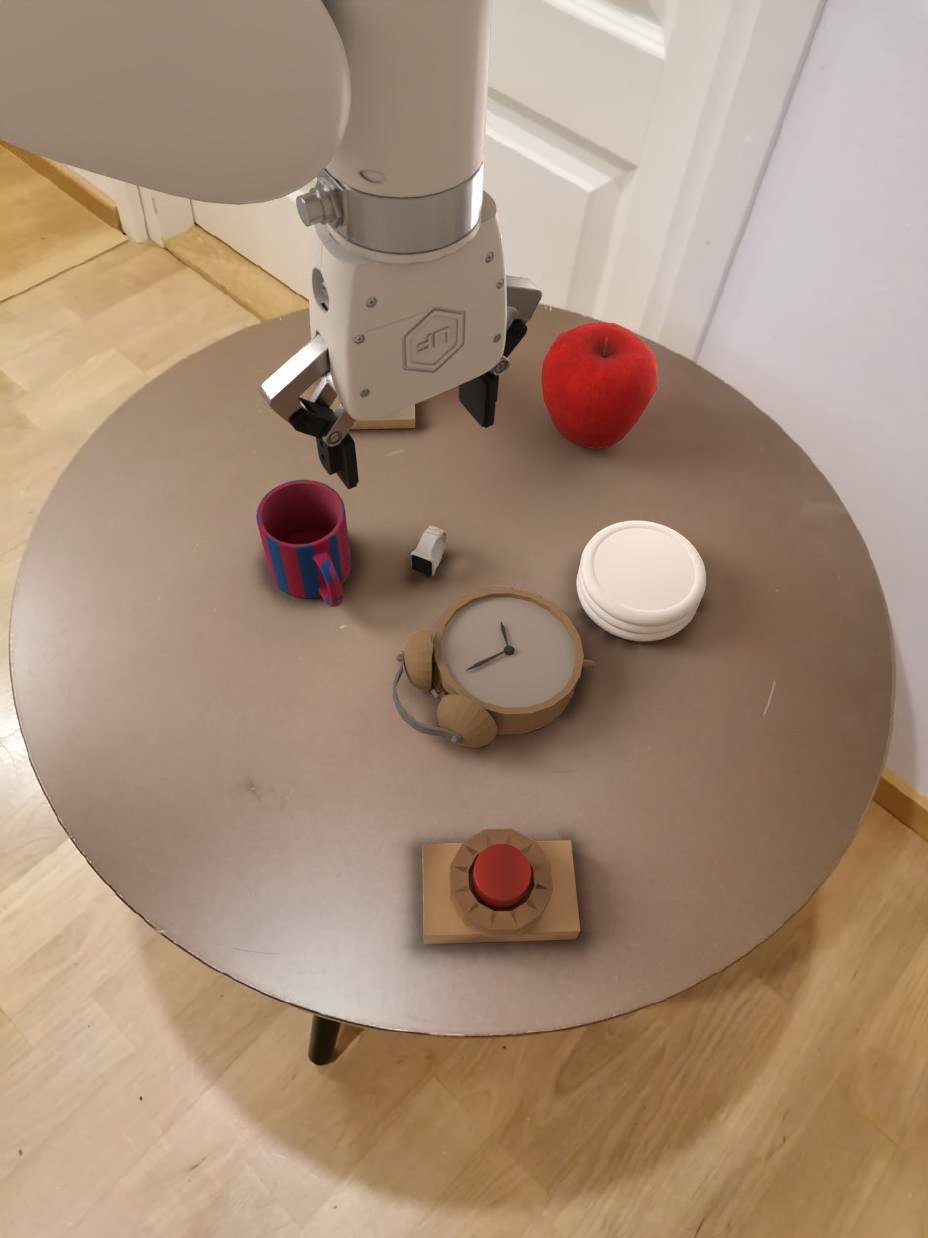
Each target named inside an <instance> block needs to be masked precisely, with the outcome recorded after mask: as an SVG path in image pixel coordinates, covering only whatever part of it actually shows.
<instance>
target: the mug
mask: <svg viewBox="0 0 928 1238" xmlns="http://www.w3.org/2000/svg"><path fill="white" fill-rule="evenodd" d="M255 517H256V524H257V528H258V532H259V536H260V540H261V544H262V548H263V553H264V557H265V559H266V563H267V567H268V571H269V576H270V578H271V580H272V581H273V583H274V585H275V586H276V587H277V588H278V589H279V590H281V591H282V592H284V593H286V594H288V595H290V596H293V597H295V598H300V599H314V598H321V597H322V599H323V601H324V602H325V603H326V604H327V606H329V607H331V608H334V607H339V606H340V605H342V604H343V601H344V592H343V586H342V585H343V584H344V582H346V580H347V579H348V577H349V574H350V573H351V568H352V556H351V555H352V554H351V547H350V540H349V530H348V523H347V515H346V508H345V503H344V501H343V498H342V497H341V495H340V494H339V493H338V492H337V491H336V490H335V489H334V488H332V487H331V486H329V485H328V484H325V483H324V482H320V481H317V480H312V479H296V480H291V481H286V482H284V483H281V484H279V485H277V486H275V487H274V488H272V489H270V490H269V491H268V492H267V493H266V494H265V495H264V496H263V498H261V501H260V502H259V504H258V507H257V510H256V516H255Z"/></svg>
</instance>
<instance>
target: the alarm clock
mask: <svg viewBox="0 0 928 1238" xmlns="http://www.w3.org/2000/svg"><path fill="white" fill-rule="evenodd" d="M430 632H431V631H430V628H429V627H422V628H418V629H417V630H415V631H414V632H412V633H411V634H410V635H409V637H408V639H407V641H406V642H405V646H404V649H403V650H401V653H397V654H396V656H395V661H397V662H399V663H401V664H400V666H399V668H398V670H397V672H396V673H395V677H394V679H393V683H392V700H393V704H394V706H395V709H396V711H397V713H398V715H399V716H400V717H401V718H402V720H403V721H404V722H405V723H406V724H407V725H408V726H410V727H411V728H412V729H413V730H415V731H417V732H418V733H421V734H424V735H428V736H433V737H440V738H443V739H444V738H445V739H448V740H450V741H451V744H452V745H457V744H458V745H460V746H462V747H466V748H481V747H484V746H487V745H488V744H490V743H491V742H492V741H494V739H495V738H496V736H497V735H521V734H523V735H524V734H528V733H530V732H532V731H536V730H538V729H542V728H544V727H547V726H548V725H549V724H551V723H552V722H553V721H554V720H555V719H557V718H558V717H559V716H561V715H562V714H563V713H564V711H565V709H566V707H567V706H568V705H569V703H570V701H571V700H572V698H573V696H574V693H575V689H576V686H577V684H578V681H579V680H580V678H581V675H582V670H583V668H595V665H596V663H595V661H593V660H591V659H588V658H587V659H586V658H584V657H585V655H584V649H583V645H582V639H581V635H580V634H579V632H578V630H577V628H576V627H575V625H574V624H573V622H572V620H571V618H570V617H569V616H568V615H567V614H565V613H564V612H563V611H562V610H561V609H560V608H559V607H558V606H557V605H556V604H555V603H554V602H551V601H550V600H548V599H546V598H544V597H543V596H542V595H541V594H536V593H535V592H531V591H526V590H522V589H518V588H514V587H489V588H485V589H481V590H478V591H475V592H471V593H468V594H466V595H465V596H463V597H462V598H461V599H459V600H458V601H456V602H454V603H453V604H451V605H450V606H449V608H448V609H447V610H446V612H445V613H444V614H443V615H442V617H441V618H440V619H439V620H438V623H437V626H436V630H435V633H434V637H433V641H432V639H431V633H430ZM432 646H433V647H432ZM404 672H405V675H406V677H407V680H408V682H409V683H410V684H411V685H412V686H413V687H415V689H418V690H421V691H424V692H430V693H431V694H432V695H433V697H434V698H435V700H438V699H440V702H439V704H438V706H437V708H436V709H437V710H436V716H437V722H438V725H439V727H438V726H433V725H429V724H425V723H423V722H421V721H419V720H417V719H416V718H415V717H414V716H412V715H411V713H409V712H408V710H406V708H405V707H404V706H403V703H402V702H401V699H400V697H399V692H398V686H399V685H398V684H399V682H400V679H401V677H402V674H403V673H404ZM432 684H433V686H434V688H433V689H431V688H432Z"/></svg>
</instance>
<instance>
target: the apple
mask: <svg viewBox="0 0 928 1238" xmlns="http://www.w3.org/2000/svg"><path fill="white" fill-rule="evenodd" d="M657 363H658V361H657V357H656V355H655V354H654V352H653V351H652V350H651V348H650V347H649V345H648V344H646V342H644V341H643V340H642V339H641V338H639V337H638V336H637V335H636V334H635V333H633V332H632V331H631V330H630V329H628V328H626V327H624V326H622V325H620V324H617V323H615V322H605V321H603V322H602V321H599V322H589V323H584V324H583V323H582V324H581V325H578V326H574V327H572V328H570V329H568V330H566V331H563V332H561V333H559V334H558V335H557V337H556V338H555V340H554V341H553V343H552V344H551V345H550V347H549V349H548V351H547V353H546V355H545V357H544V358H543V360H542V366H541V375H540V381H541V391H542V401H543V403H544V405H545V408H546V411H547V413H548V415H549V418H550V419H551V422H552V424H553V425H554V427H555V428H556V430H557V432H558V433H560V435H562V436H563V437H564V438H565V439H566V440H567V441H569V442H571V443H573V444H575V445H578V446H579V447H584V448H590V449H596V450H598V449H604V448H608V447H609V448H610V447H612V446H614V445H615V444H617V443H619V442H620V441H622V440H624V438H625V437H626V436H627V435H628V434H629V432H630V431H631V430H632V429H633V428H634V426H635V425H636V424H637V423H638V422H639V420H640V418H641V417H642V415H643V413H644V411H645V410H646V408H647V406H648V405H649V403H650V401H651V400H652V398H653V396H654V395H655V393H656V391H657V389H658V364H657Z"/></svg>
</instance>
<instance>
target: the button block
mask: <svg viewBox="0 0 928 1238" xmlns="http://www.w3.org/2000/svg"><path fill="white" fill-rule="evenodd" d="M495 844H509V845H512V846H514V847H516V848H518V849H519V850H521V851H522V852H523V853H524V854H525V856H526V857H527V859H528V861H529V863H530V866H531V880H530V883H529V887H528V890H527V892H526V894H525V896H524V897H523V899H522V900H521V901H520V902H518V903H517V904H515V905H513V906H510V907H506V908H498V907H493V906H491V905H488V904H487V903H485V902H484V901H483V900H482V899H481V898H480V897H479V896H478V895H477V893H476V891H475V889H474V885H473V872H474V865H475V862H476V859H477V857H478V856H479V854H480V853H481V852H482V851H483V850H484V849H486V848H487V847H489V846H492V845H495ZM421 863H422V865H421V866H422V871H421V873H422V927H423V928H422V929H423V930H422V931H423V932H422V933H423V934H422V935H423V945H441V944H442V945H443V944H473V943H502V942H503V943H504V942H509V943H510V942H535V941H536V942H539V941H540V942H541V941H566V940H569V941H570V940H577V938H578V936H579V934H580V932H581V923H580V922H581V921H580V914H579V913H580V912H579V904H578V894H577V884H576V883H577V882H576V873H575V863H574V854H573V846H572V839H557V840H556V839H555V840H535V839H533V838H530V837H528V836H527V835H525V834H523V833H521V832H519V831H517V830H515V829H513V828H486V829H483V830H482V831H480V832H478V833H476V834H474V835H473V836H471V837H469V838H468V839H466V840H465V841H463V842H447V843H446V842H445V843H443V842H442V843H422V844H421Z"/></svg>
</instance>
